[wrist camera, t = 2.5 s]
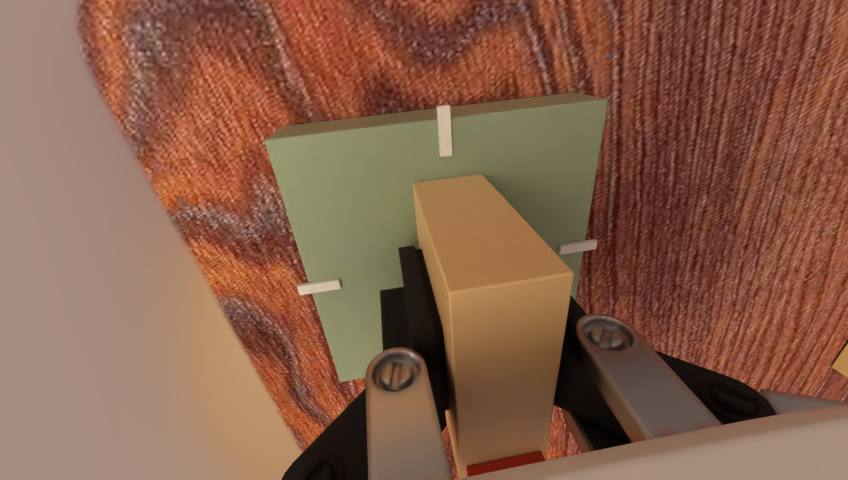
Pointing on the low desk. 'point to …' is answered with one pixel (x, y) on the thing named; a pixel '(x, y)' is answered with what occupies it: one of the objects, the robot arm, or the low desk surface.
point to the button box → (842, 362)
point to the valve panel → (394, 202)
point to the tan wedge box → (493, 321)
